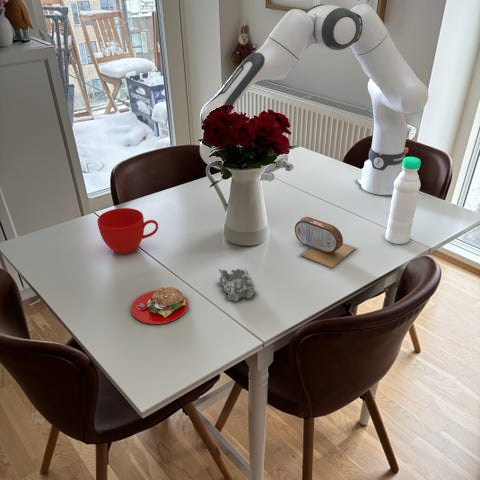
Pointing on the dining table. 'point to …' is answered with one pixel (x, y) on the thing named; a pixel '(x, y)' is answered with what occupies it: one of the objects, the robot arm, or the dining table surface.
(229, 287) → the grey lumpy block
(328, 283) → the dining table surface
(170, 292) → the hamburger
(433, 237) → the dining table surface
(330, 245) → the tin
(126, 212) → the ceramic cup
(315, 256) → the cork mat
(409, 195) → the water bottle
